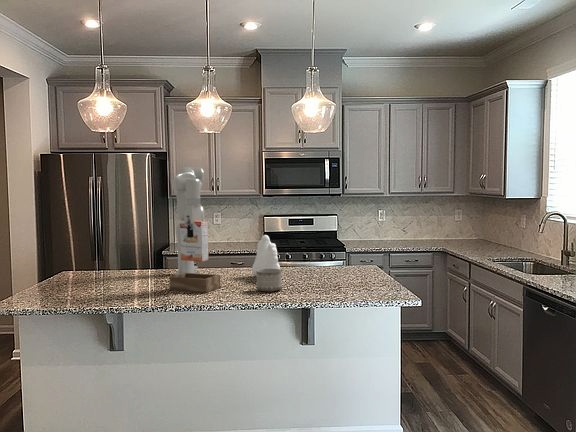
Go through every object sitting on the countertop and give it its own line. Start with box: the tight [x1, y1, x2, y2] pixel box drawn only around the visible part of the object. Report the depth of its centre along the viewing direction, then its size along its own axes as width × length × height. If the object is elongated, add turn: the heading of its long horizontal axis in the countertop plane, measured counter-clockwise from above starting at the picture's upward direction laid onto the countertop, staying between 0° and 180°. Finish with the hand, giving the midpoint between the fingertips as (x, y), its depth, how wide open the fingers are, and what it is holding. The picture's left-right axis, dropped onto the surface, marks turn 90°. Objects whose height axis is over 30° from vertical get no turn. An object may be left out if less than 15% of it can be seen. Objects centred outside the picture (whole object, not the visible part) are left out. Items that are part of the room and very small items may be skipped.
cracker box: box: [179, 220, 209, 263], centre depth 267 cm, size 14×6×21 cm, turn 62°
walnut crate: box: [169, 272, 221, 294], centre depth 269 cm, size 14×22×7 cm, turn 67°
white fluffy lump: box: [251, 234, 281, 277], centre depth 295 cm, size 25×16×25 cm, turn 10°
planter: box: [256, 268, 282, 293], centre depth 263 cm, size 13×13×10 cm
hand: (194, 236), depth 267 cm, fingers closed on cracker box, 6 cm apart
